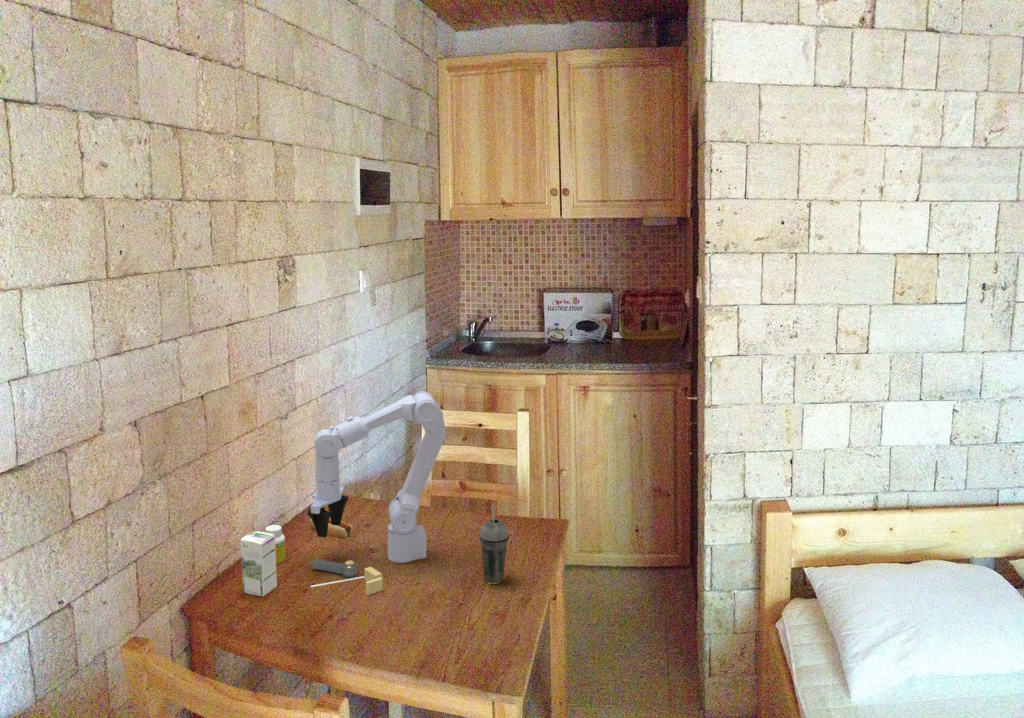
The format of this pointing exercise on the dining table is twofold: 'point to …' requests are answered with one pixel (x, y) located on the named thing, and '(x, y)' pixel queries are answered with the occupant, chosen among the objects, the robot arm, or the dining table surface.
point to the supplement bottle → (278, 542)
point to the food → (336, 529)
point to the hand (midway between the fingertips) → (329, 530)
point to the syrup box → (258, 563)
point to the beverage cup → (493, 549)
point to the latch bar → (335, 568)
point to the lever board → (370, 575)
